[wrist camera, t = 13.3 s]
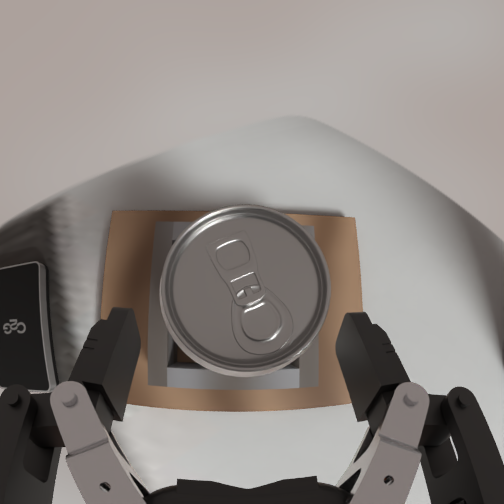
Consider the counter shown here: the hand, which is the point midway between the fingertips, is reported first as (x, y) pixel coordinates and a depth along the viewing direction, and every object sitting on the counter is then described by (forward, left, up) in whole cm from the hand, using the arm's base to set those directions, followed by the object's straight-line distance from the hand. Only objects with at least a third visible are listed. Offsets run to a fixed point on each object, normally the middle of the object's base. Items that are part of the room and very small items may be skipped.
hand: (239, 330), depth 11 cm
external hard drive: (+19, +1, -12) cm, 22 cm away
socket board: (0, -2, -11) cm, 12 cm away
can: (0, -1, -10) cm, 10 cm away
